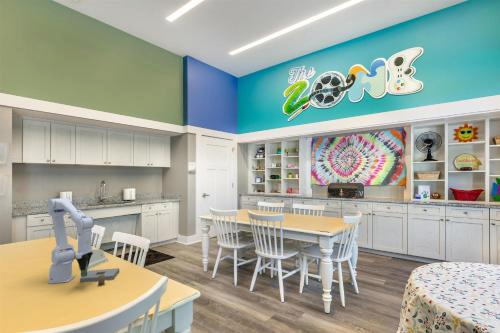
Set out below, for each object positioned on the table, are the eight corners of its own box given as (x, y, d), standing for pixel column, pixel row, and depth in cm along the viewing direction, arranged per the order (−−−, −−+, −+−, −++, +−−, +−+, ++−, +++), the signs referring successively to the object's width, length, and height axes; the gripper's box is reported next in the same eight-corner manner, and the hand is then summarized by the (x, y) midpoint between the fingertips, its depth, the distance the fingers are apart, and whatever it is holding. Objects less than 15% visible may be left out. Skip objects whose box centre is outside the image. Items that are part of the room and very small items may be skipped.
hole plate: (79, 282, 134) (79, 278, 134) (88, 274, 146) (88, 270, 146) (113, 279, 138) (113, 275, 138) (119, 271, 149) (119, 268, 149)
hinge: (87, 269, 153) (82, 253, 154) (81, 271, 154) (76, 255, 155) (108, 260, 169) (104, 246, 171) (102, 262, 170) (98, 248, 172)
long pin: (79, 277, 128) (80, 256, 128) (81, 274, 130) (82, 255, 131) (86, 276, 128) (86, 256, 129) (88, 274, 131) (88, 254, 131)
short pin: (97, 286, 129) (97, 277, 129) (99, 284, 132) (99, 275, 132) (103, 285, 130) (103, 276, 130) (105, 283, 133) (105, 274, 133)
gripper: (88, 244, 124) (87, 273, 123) (98, 237, 138) (97, 263, 137) (71, 245, 122) (70, 274, 122) (83, 238, 136) (83, 264, 136)
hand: (84, 268), depth 129 cm, fingers closed on long pin, 3 cm apart
